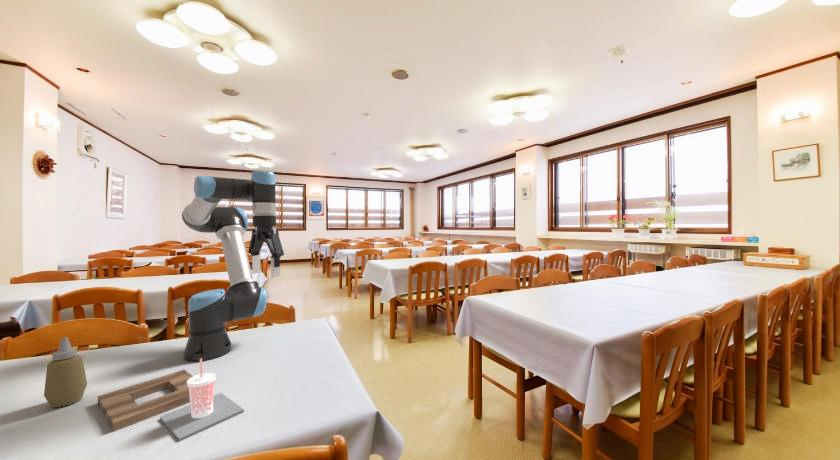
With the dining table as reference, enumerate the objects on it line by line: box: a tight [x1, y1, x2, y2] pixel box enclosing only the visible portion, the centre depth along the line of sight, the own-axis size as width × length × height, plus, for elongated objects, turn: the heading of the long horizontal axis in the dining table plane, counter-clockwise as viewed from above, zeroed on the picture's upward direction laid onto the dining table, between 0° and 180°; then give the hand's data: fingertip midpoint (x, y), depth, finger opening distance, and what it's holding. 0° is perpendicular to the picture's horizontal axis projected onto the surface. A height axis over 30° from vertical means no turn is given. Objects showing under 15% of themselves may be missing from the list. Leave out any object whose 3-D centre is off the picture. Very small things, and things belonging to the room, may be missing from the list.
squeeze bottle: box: [43, 337, 88, 408], centre depth 89 cm, size 8×8×18 cm
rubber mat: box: [159, 392, 245, 442], centre depth 82 cm, size 14×14×1 cm
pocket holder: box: [97, 369, 194, 432], centre depth 90 cm, size 20×20×2 cm
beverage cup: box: [187, 358, 217, 418], centre depth 82 cm, size 6×6×14 cm
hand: (265, 274), depth 114 cm, fingers open, 13 cm apart
